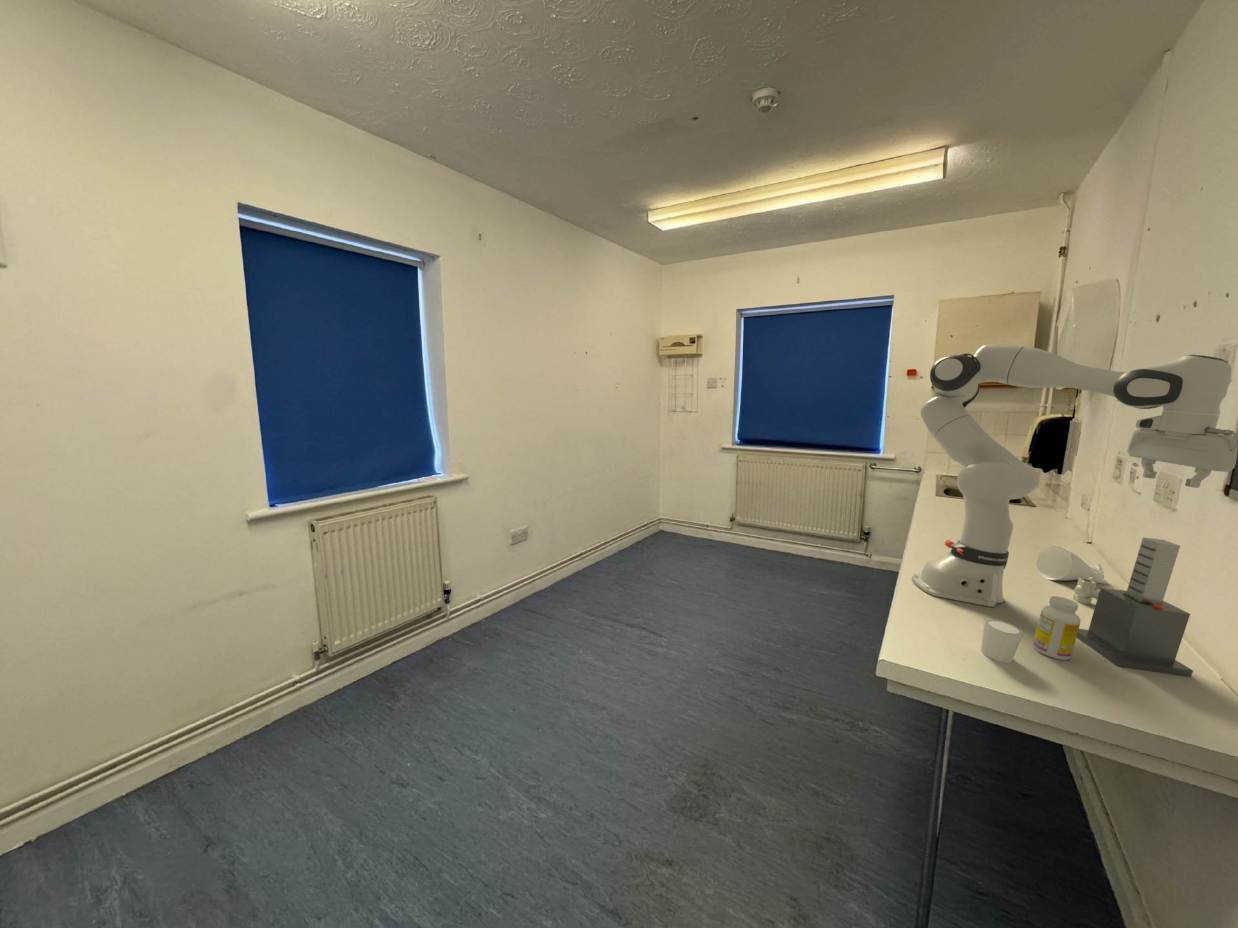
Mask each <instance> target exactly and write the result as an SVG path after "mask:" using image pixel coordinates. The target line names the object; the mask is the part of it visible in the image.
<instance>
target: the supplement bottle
mask: <svg viewBox="0 0 1238 928" xmlns="http://www.w3.org/2000/svg"><path fill="white" fill-rule="evenodd" d="M1078 608H1079V604H1078V602H1077V601H1075V600H1073V599H1072V600H1071V599H1069V598H1066V597H1062V596H1055V595H1054V596H1053V595H1051V596H1050V598H1049V605H1046V606H1043V607H1042V608H1041V611H1040V614H1039V617H1038V618H1039V619H1038V623H1037V626H1036V631H1035V634H1034V639H1033V643H1032V646H1033V649H1035V650H1036V651H1037V652H1039V653H1040V654H1042V655H1044V656H1047V657H1049V658H1052V659H1055V660H1060V661H1066V660H1067V661H1068V660H1070V659H1071V657H1072V655H1073V651H1074V647H1075V644H1076V640H1077V633H1078V629H1080V625H1081V617H1080V616H1079V615H1078V614H1077V613H1076V611H1078Z"/></svg>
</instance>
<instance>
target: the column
mask: <svg viewBox="0 0 1238 928" xmlns="http://www.w3.org/2000/svg"><path fill="white" fill-rule="evenodd" d="M1180 548H1181V545H1179V544H1176V543H1174V542H1172V541H1171V542H1170V541H1168V540H1166V539H1162V538H1161V539H1160V538H1151V537H1150V538H1149V537H1142V540H1141V543H1140V546H1139V549H1138V552H1137V555H1136V560H1135V563H1134V565H1133V570H1132V573H1131V576H1130V580H1129V582H1128V586H1127V589H1126V591H1127V592H1126V593H1125V596H1127V597H1129V598H1131V599H1132V600H1134V601H1136V602H1138V603H1140V604H1147V605H1153V604H1154V603H1156V604H1160V605H1163V603H1162V602H1163V601H1164V599H1165V596H1166V592H1167V589H1168V586H1169V583H1170V580H1171V576H1172V573H1173V569H1174V567H1175V564H1176V561H1177V558H1178V555H1179V551H1180Z"/></svg>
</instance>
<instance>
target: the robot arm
mask: <svg viewBox="0 0 1238 928" xmlns="http://www.w3.org/2000/svg"><path fill="white" fill-rule="evenodd" d="M1231 377H1232V367H1231V364H1230V363H1229V362H1228V361H1227V360H1225V359H1223V358H1220V357H1216V356H1209V355H1202V354H1186V355H1184V356H1181V357H1179V358H1177V359H1174V360H1171V361H1168V362H1164V363H1161V364H1156V365H1152V366H1147V367H1141V368H1140V367H1139V368H1135V369H1133V370H1130V371H1125V372H1124V371H1116V370H1111V369H1104V368H1100V367H1099V368H1098V367H1092V366H1086V365H1083V364H1080V363H1076V362H1074V361H1071V360H1068V359H1067V358H1065V357H1062V356H1060V355H1058V354H1055V353H1053V352H1051V351H1048V350H1044V349H1040V348H1036V347H1033V346H1027V345H1020V344H1019V345H1017V344H1004V343H1003V344H1000V343H993V344H992V343H990V344H985V345H983V346H980V347H979V348H978V349H976V351H975V352H974V353H973V354H971V353H967V352H966V353H962V354H953V355H947V356H944V357H941V358H940V359H938V360H937V361H935V362H934V364H932V367H931V369H930V371H929V379H930V383H931V384H932V387H933V388H934V389H933V390H934V392H935V394H934V396H933V397H931V398H930V399H929V400H927V401H926V402H925V403H924V404H923V405H922V406H921V408H920V417H921V418H922V421H923V422H924V424H925V426H926V428H927V430H928V431H929V432H930V435H932V436H933V438H934V439H935V440H936V441H937V443H938V444H939V445H940V447H941V448H942V449H943V450H944V452H945V453H946V454H947V455H948V456H949V458H950V459H952V460H953V461H954V462H956V463H958V464H960V465H961V466H963V469H961V470H960V472H959V473H958V475H957V478H956V485H957V488H958V490H959V492H960V493H961V494H962V496H963V502H964V503H963V504H964V520H963V525H962V529H961V534H960V539H959V540H957V542H956V543H954V542H953V541H952V540H950V539H947V540H946V541H944V543H943V544H944V545H945V547H947V548H949V549H951V550H950V552H948V553H945V554H943V555H940V556H938V557H935V558H933V559H930V560H928V561H927V562H926V563H924V566H923V567H922V571H921V572H920V573H912V576H911V581H912V582H913V583H914V584H915V585H916V586H917V587H918V588H919V589H921V590H923V592H926V593H927V594H929V595H931V596H933V597H938V598H939V597H940V598H944V599H949V600H954V601H959V602H964V603H969V604H975V605H980V606H985V607H989V608H995V607H996V605H997V604H1001V603H1003V602H1004V595H1003V594H1004V593H1003V581H1004V580H1003V578H1004V577H1003V576H1004V572H1005V571H1004V570H1005V569H1006V566H1007V564H1008V560H1009V554H1010V552H1009V547H1010V544H1011V543H1010V542H1011V538H1012V534H1013V531H1014V523H1013V521H1012V520H1011V518H1010V511H1009V510H1010V508H1009V504H1010V500H1018V499H1021V498H1024V497H1026V496H1028V495H1030V494H1032V493H1034V491H1036V489H1037V488H1038V486H1039V483H1040V477H1039V473H1038V472H1037V470H1036V469H1035V468H1034V467H1033V466H1031V465H1029V464H1028V463H1025V462H1023V461H1022V460H1021V459H1020V458H1018V457H1016V456H1015V455H1014V454H1013V453H1012V452H1010V451H1009V450H1008V449H1007V448H1005V447H1004V446H1002V445H1001V444H1000V443H998V441H996V440H995V439H993V437H992V436H990V435H989V434H988V433H987V432H986V431H985V430H984V428H983V427H982V426H981V425H980V424H979V422H977V421H976V419H975V418H974V417H973V416H972V415H971V414H970V413H969V412H968V411H967V409H966V407H967V406H969V404H971V403H972V402H973V401H974V400H975V399H976V398H977V396H978V395H979V393H980V384H984V383H988V382H990V383H1000V384H1004V385H1008V386H1014V387H1021V388H1030V389H1031V388H1033V389H1045V388H1047V389H1049V388H1053V389H1054V388H1064V389H1065V388H1067V389H1068V388H1069V389H1076V390H1082V391H1087V392H1092V393H1098V394H1101V395H1107V396H1111V397H1113V398H1116V399H1117V400H1118V401H1119V402H1120V403H1122V404H1123V405H1125V406H1128V407H1132V408H1135V409H1141V410H1151V409H1152V410H1153V409H1156V408H1160V407H1162V413H1161V415H1157V416H1151V417H1146V418H1141V419H1138V420H1136V422H1135V428H1137V429H1136V430H1134V431H1133V432H1132V434H1131V437H1130V440H1129V442H1128V447H1127V451H1126V452H1127V454H1128V455H1129V456H1130V457H1134V458H1138V459H1141V462H1140V465H1141V466H1142V469H1143V473H1142V477H1143V478H1146V479H1156V478H1157V475H1158V471H1155V470H1154V465H1156V463H1157V462H1161V463H1168V464H1173V465H1179V466H1184V467H1185V466H1186V467H1191V468H1194V471H1193V472H1194V473H1195V474H1194V475H1193V476H1192V478H1186V480H1185V483H1184V485H1185V486H1186V487H1188V488H1189V487H1190V488H1193V489H1194V488H1196V489H1197V488H1200V486H1201V484H1202V481H1204V480H1205V479H1206V478H1207V477H1209V476H1210V475H1211V472H1212V471H1213V472H1224V473H1228V472H1230V471H1233V469H1235V466H1236V463H1237V459H1238V458H1237V457H1238V433H1236V432H1235V431H1234V430H1233V429H1220V428H1216V427H1217V425H1218V421H1219V418H1220V416H1221V407H1220V406H1221V405H1222V402H1223V400H1225V398H1226V396H1227V394H1228V393H1227V392H1228V389H1229V386H1230V382H1231Z"/></svg>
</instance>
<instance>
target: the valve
mask: <svg viewBox="0 0 1238 928" xmlns="http://www.w3.org/2000/svg"><path fill="white" fill-rule="evenodd" d="M1089 579H1090V578H1089ZM1089 579H1085V578H1079V579H1078V580H1077V584H1076V586H1075V587H1074V594H1073V597H1072V601H1074V602H1076V603H1079V604H1084V605H1091V604H1092V601H1093V599H1095V600H1096V601H1097V599H1098V595H1099V592H1100V589H1096V586H1097V585H1098V583H1096V582H1094V581H1092V580H1089Z"/></svg>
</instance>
